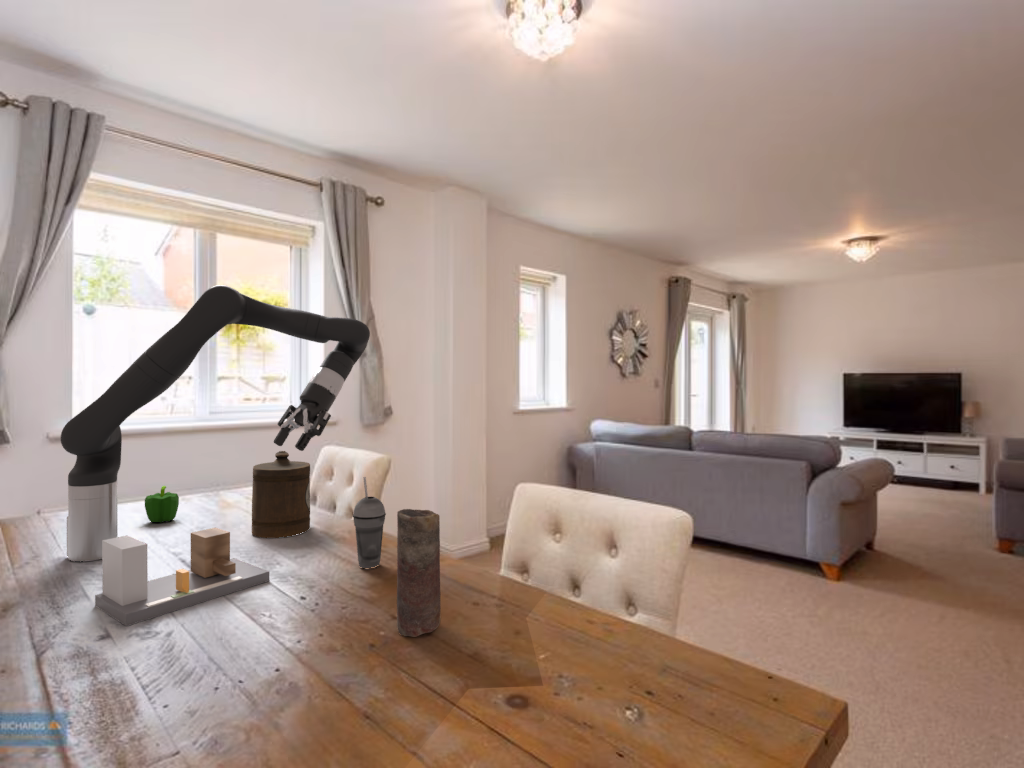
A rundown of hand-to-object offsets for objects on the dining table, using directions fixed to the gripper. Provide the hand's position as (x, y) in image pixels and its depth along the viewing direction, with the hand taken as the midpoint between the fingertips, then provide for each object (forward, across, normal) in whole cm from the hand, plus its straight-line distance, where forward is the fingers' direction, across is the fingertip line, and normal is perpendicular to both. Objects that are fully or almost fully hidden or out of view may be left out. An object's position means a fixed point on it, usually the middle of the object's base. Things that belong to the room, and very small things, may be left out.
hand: (287, 446), depth 131 cm
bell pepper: (+25, -56, +14) cm, 63 cm away
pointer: (+35, +10, -9) cm, 37 cm away
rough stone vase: (+25, +53, +6) cm, 59 cm away
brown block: (+30, +5, -2) cm, 31 cm away
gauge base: (+35, +5, -5) cm, 36 cm away
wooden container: (+15, -19, +25) cm, 35 cm away
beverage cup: (+17, +22, +20) cm, 34 cm away
